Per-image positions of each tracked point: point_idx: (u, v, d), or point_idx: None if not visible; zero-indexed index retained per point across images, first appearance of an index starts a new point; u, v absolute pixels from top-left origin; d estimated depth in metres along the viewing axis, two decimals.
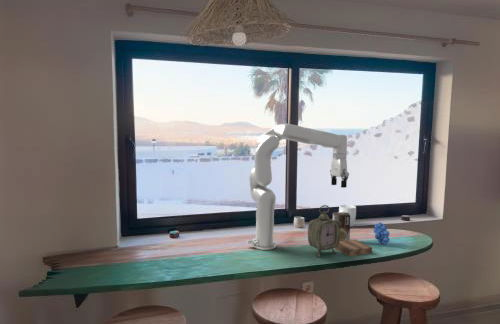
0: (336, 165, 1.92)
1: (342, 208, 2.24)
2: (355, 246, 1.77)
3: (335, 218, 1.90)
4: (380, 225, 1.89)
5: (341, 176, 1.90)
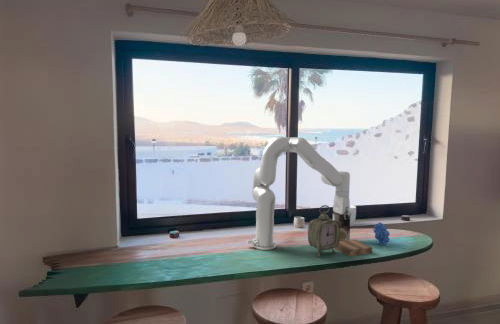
0: (339, 203, 1.90)
1: None
2: (355, 246, 1.77)
3: (335, 218, 1.90)
4: (380, 225, 1.89)
5: (343, 214, 1.89)
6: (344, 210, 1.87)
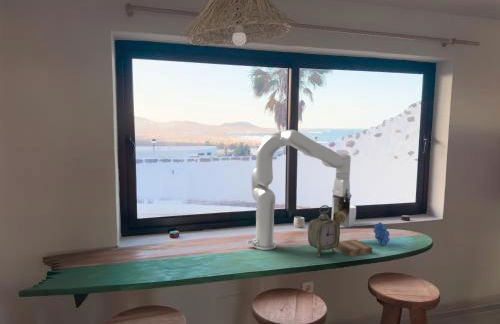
0: (339, 185, 1.89)
1: None
2: (355, 246, 1.77)
3: (335, 201, 1.89)
4: (380, 225, 1.89)
5: (343, 197, 1.88)
6: (344, 192, 1.87)
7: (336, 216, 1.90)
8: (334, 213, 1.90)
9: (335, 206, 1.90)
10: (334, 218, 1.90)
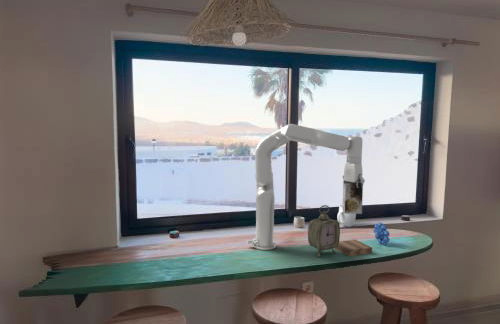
0: (350, 170, 1.75)
1: None
2: (355, 246, 1.77)
3: (346, 187, 1.75)
4: (380, 225, 1.89)
5: (356, 182, 1.74)
6: (356, 177, 1.73)
7: (348, 203, 1.76)
8: (346, 200, 1.76)
9: (347, 192, 1.76)
10: (346, 205, 1.76)
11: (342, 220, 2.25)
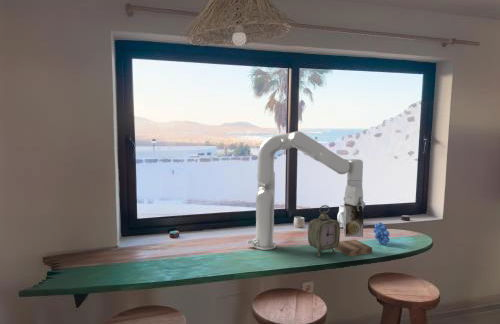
0: (351, 193, 1.75)
1: (342, 208, 2.24)
2: (355, 246, 1.77)
3: (347, 210, 1.75)
4: (380, 225, 1.89)
5: (356, 206, 1.73)
6: (357, 201, 1.72)
7: (349, 226, 1.75)
8: (347, 223, 1.75)
9: (347, 216, 1.75)
10: (347, 229, 1.75)
11: (342, 220, 2.25)
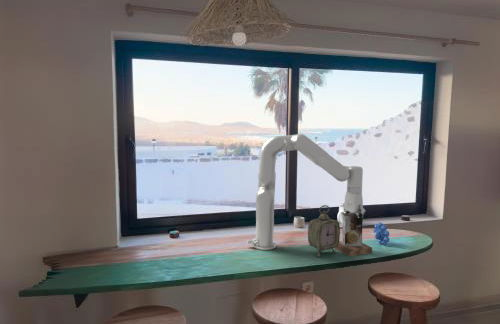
0: (351, 200, 1.75)
1: (342, 208, 2.24)
2: (355, 246, 1.77)
3: (346, 219, 1.75)
4: (380, 225, 1.89)
5: (356, 212, 1.73)
6: (357, 208, 1.72)
7: (348, 236, 1.76)
8: (346, 233, 1.76)
9: (347, 225, 1.75)
10: (346, 238, 1.76)
11: (342, 220, 2.25)
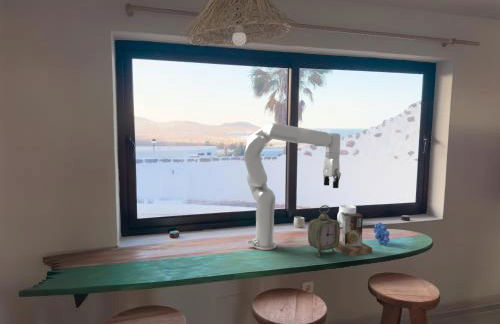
0: (328, 165, 1.85)
1: (342, 208, 2.24)
2: (355, 246, 1.77)
3: (346, 219, 1.75)
4: (380, 225, 1.89)
5: (333, 176, 1.83)
6: (333, 172, 1.82)
7: (348, 236, 1.76)
8: (346, 233, 1.76)
9: (347, 225, 1.75)
10: (346, 238, 1.76)
11: (342, 220, 2.25)
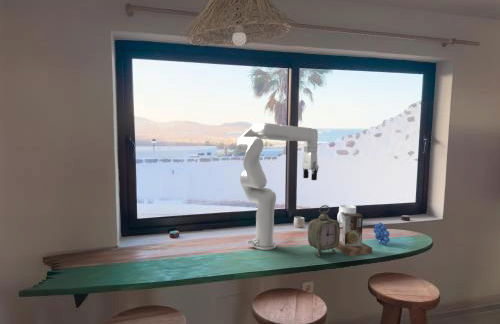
0: (307, 158, 1.97)
1: (342, 208, 2.24)
2: (355, 246, 1.77)
3: (346, 219, 1.75)
4: (380, 225, 1.89)
5: (311, 169, 1.95)
6: (312, 165, 1.94)
7: (348, 236, 1.76)
8: (346, 233, 1.76)
9: (347, 225, 1.75)
10: (346, 238, 1.76)
11: (342, 220, 2.25)
